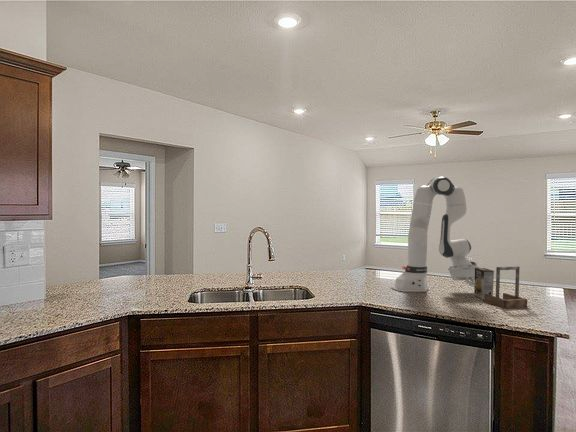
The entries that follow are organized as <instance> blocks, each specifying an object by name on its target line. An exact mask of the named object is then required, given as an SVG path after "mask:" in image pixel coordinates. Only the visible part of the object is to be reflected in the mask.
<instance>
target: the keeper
mask: <svg viewBox="0 0 576 432" xmlns="http://www.w3.org/2000/svg"><path fill="white" fill-rule="evenodd" d="M495 270H496V271H495V273H496V274H495V296H494V295H493V296H491V295H488V294H484V299H483V302H485V303H487V304H491V305H494V306H497V307H500V308H503V309H514V308H515V309H516V308H517V309H519V308H528V298H524V297H521V296H519V294H520V266H496V269H495ZM501 271H515V286H514V291H515V292H514V295H513V294H509V293H506V292H503V293H502V298H500V287H501V286H500V284H501V283H500V282H501V281H500V280H501V279H500V278H501Z"/></svg>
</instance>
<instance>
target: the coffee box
mask: <svg viewBox="0 0 576 432" xmlns="http://www.w3.org/2000/svg"><path fill="white" fill-rule="evenodd" d="M494 272H495V270H492V269H489V268H485V267H479V268H475V280H474V283H475V285H474V286H473V287H474V289H473V291H474V292H473V296H475V297H477V298H479V299H481V300H484V294H488V295H491V296H494V281H495V280H494V278H495V277H494V275H495V273H494Z"/></svg>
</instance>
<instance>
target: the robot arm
mask: <svg viewBox="0 0 576 432" xmlns="http://www.w3.org/2000/svg"><path fill="white" fill-rule="evenodd" d="M437 195H438V196H443V197H444V198H445V202H446V210H445V212H444V214H443V215H442V217H441V226H440V240H439V246H438V251H439V254H440V255H441V256H443V257H444V258H446V259H449V260H450V261H451V264H452V266H449V267H448V271H449V274H450V277H451V280H453V281H464V282H465V283H466V284H468V285H469V286H470V287H471V286H472V287H474V286H475V268H480V267H479V266H478V263H477V262H475V261H472V260H468V259H467V258H466V256H468V255H469V253H470V252H471V250H472V245H471V243H470V242H469V240H468V239H466V238H457V239H451V240H450V237H451V226H452V225H453V224H455V223H456V222H457V221H459V220H461V219H463V217H464V216H466V213H467V202H466V201H467V199H466V196H465V192H464V189H463V187H460V186H456V185H454V183H453V182H452V181H451V180H450V179H449V178H448V177H446V176H437V177H434V178H432V179H431V180H430V181H429V182H428V183H427V185H421V186H419V187H418V188H417V189H416V192H415V195H414V199H413V204H412V210H411V217H410V222H409V229H408V233H407V235H408V236H407V238H408V239H407V265H406V266H405V265H402V266H401V269H402V270H404V272H403V273H401V274H400V275H399V276H397V277H396V278H395V282H394V285H391V287H390V288H391V289H393V290H395V291H398V292H402V293H403V292H405V293H406V292H409V293H410V292H413V293H414V292H415V293H416V292H419V293H421V292H427V291H428V290H429V285H428V278H427V276H428V275H427V274H428V267H427V255H428V253H427V252H428V231H429V224H430V219H431V215H432V208H433V200H434V198H435V197H436V196H437Z"/></svg>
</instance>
